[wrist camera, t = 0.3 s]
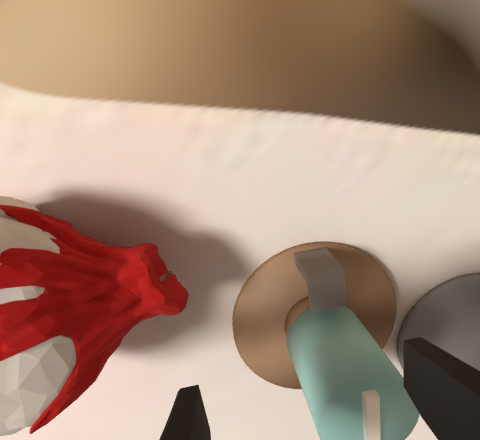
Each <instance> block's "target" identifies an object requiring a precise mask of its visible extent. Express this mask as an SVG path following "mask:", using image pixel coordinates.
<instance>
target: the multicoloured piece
mask: <svg viewBox="0 0 480 440" xmlns="http://www.w3.org/2000/svg"><path fill="white" fill-rule="evenodd" d="M172 273H173V272H172V271H170V272H168V271H167V268H166V266H165V264H164V262H163V261H162V259H161V258H160V256H159V255H158V248H157V247H156V245H154V244H151V243H145V244H141V245H138V246H135V247H131V248H125V247H118V246H108V245H105V244H102V243H99V242H98V241H96V240H94V239H92V238H90V237H88V236H84V235H82V234H80V233H78V232H77V231H76V230H75V229H74V227H73V226H72V225H71V224H70V223H69V222H66V221H64V220H61V219H58V218H55V217H52V216H48V215H43V214H42V213H41V212H39V211H38V209H37V208H36V207H34V206H33V205H31V204H30V203H27V202H24V201H21V200H17V199H14V198H11V197H4V196H0V436H5V435H11V434H14V433H16V432H18V431H19V430H21V429H23V428H25V427H30V426H32V427H31V429H30V434H32V433H33V432H35V431H36V430H38V429H39V428H41V427H43V426H44V425H46V424H48V423H49V422H50V421H51V420H52V419H54V418H55V417H56V416H57V415H58V414H60V413H61V412H62V411H63V410H64V409H66V408H67V407H68V406H69V405H70V404H72V403H73V402H74V401H75V400H76V399H78V397H79V396H80V395H81V394H82V393H83V392H85V391H86V390H87V389H88V388H89V387H90V386H91V385H92V384H93V383H94V382H95V381H96V379H97V377H98V376H99V374H100V372H101V371H102V369H103V367H104V365H105V363H106V362H107V360H108V358H109V357H110V356H111V355H112V353H113V352H114V351H115V350H116V349H117V348H118V346H119V345H120V343H121V341H122V339H123V337H124V336H125V335H126V334H127V333H128V332H129V330H130V329H131V328H132V327H133V326H135V325H136V324H138V323H139V322H140V321H142V320H145V319H147V318H151V317H154V316H157V315H176V314H178V313H180V312H181V311H182V310H183V309H185V307H186V303H187V300H188V296H189V295H188V291H187V290H186V289H185V288H184V287H183V286H182V285H181V284H180V283H179V282H178V280H177V278H176V276H175V275H174V274H172Z"/></svg>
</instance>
